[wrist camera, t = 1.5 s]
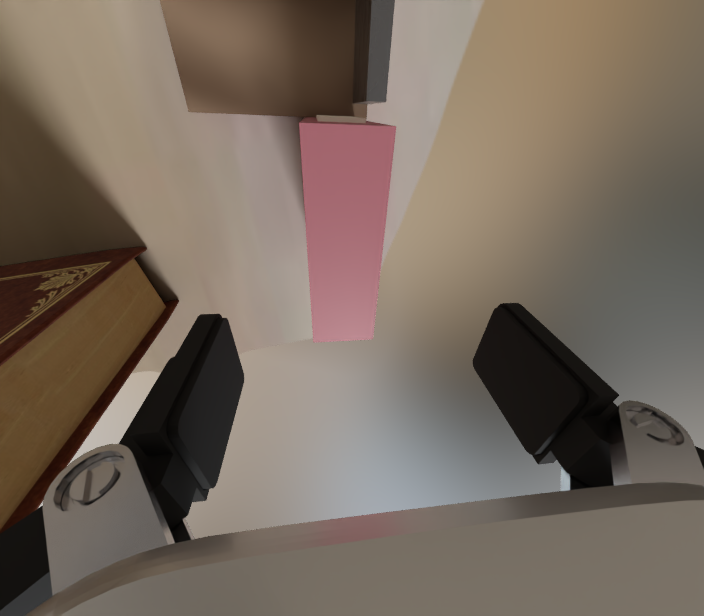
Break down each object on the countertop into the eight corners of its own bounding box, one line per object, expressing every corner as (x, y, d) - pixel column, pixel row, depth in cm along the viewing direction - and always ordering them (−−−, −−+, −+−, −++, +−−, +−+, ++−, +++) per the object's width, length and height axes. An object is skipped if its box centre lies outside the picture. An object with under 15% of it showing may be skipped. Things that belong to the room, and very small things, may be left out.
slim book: (306, 113, 23) (298, 116, 11) (351, 115, 24) (396, 120, 11) (313, 245, 31) (313, 342, 18) (348, 245, 31) (372, 339, 18)
